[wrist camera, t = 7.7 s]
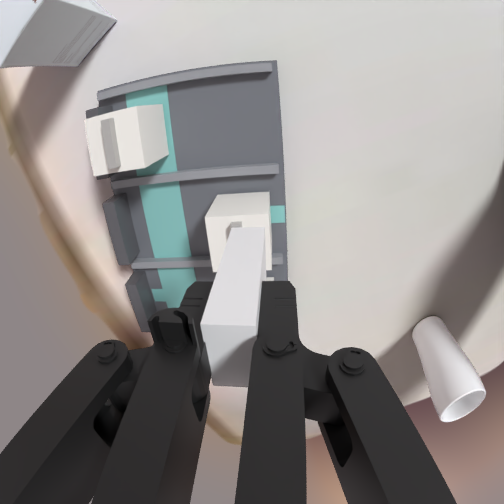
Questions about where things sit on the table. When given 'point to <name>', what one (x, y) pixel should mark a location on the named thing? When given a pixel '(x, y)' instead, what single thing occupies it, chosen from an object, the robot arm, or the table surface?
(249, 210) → the white block with ridge
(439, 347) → the drinking glass
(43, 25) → the supplement box
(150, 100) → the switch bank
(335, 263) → the table surface
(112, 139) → the white block
